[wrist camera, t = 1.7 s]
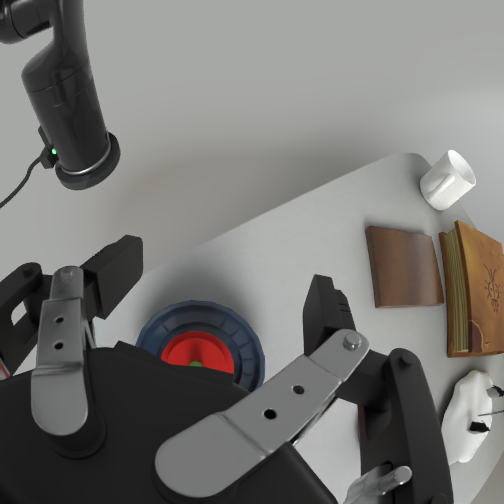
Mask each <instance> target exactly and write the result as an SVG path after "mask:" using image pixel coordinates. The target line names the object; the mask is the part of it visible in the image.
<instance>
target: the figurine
mask: <svg viewBox="0 0 504 504" xmlns="http://www.w3.org/2000/svg"><path fill="white" fill-rule="evenodd" d="M493 386H494V385H493V382H492V380H491V378H490V376H489V374H487V373H486V372H479V371H478V370H473V371H471V372H469V373H468V375H467V376H466V377H464V378H462V379H461V380H460V381H459V382H457V383H456V385H455V390H454V394H453V397H452V399H451V401H450V403H449V405H448V408H447V410H446V412H445V415H444V419H443V423H442V428H441V432H442V436H443V440H444V444H445V449H446V454H447V459H448V464H449V465H451V464H453V463H455V462H457V461H460V462H468V461H469V460H470V459H471V458H472V456H473V454H474V453H475V451H476V450H477V449H478V447H479V446H480V445H481V443H482V441H483V440H484V438H485V437H486V435H487V434H488V431H490V430H489V429H490V426H491V422H492V414H497V413H502V412H504V410H503V411H498V412H493V413H492V399H493V398H497V397H501V396H502V397H503V395H504V391H502V389H501V388H499V387H497V386H494V387H493Z"/></svg>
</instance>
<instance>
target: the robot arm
mask: <svg viewBox="0 0 504 504" xmlns="http://www.w3.org/2000/svg"><path fill="white" fill-rule="evenodd" d="M51 27H53V40H52V41H51V42H50V43H49V44H48V45H47V46H46V47H45V48H44V49H43V50H41V51H40V52H39V53H37V54H36V55H35V56H34V57H33V58H32V59H31V60H30V61H29V62H28V63H27V64H26V66H25V67H24V69H23V71H22V75H21V77H22V81H23V84H24V87H25V89H26V92H27V94H28V97H29V99H30V102H31V104H32V106H33V109H34V111H35V113H36V116H37V118H38V120H39V123H40V127H39V129H38V132H39V134H40V136H41V138H42V140H43V142H44V144H45V148H44V150H43V151H42V153H41V155H40V157H38V158H37V159H36V160H35V161H34V162H33V163H32V164H31V165H30V167H29V169H28V171H27V174H26V177H25V178H24V180H23V181H22V182H21V183H20V185H19V186H18V187H17V188H16V189H15V191H13V192H12V193H11V194H10V195H9V196H8V197H7V198H6V199H5V200H4V201H3V202H1V203H0V208H1V207H3V206H4V205H5V204H6V203H7V202H9V201H10V200H11V199H12V198H13V197H14V196H15V195H16V194H17V193H18V191H19V190H20V189H21V188H22V187H23V186H24V184H25V183H26V182H27V180H28V178H29V176H30V173H31V171H32V169H33V167H34V166H35V165H36V164H37V163H39V162H41V163H42V165H43V167H44V168H45V169H47V168H53V167H54V165H56V166H57V168H58V170H63V172H64V173H65V174H66V175H68V176H72V177H79V176H84V175H87V174H89V173H91V172H93V171H94V170H96V169H97V168H99V167H100V166H101V165H102V164H103V163H104V162H105V161H106V159H107V158H108V156H109V154H110V152H111V142H110V139H109V137H108V130H107V131H106V127H105V124H104V120H103V116H102V112H101V109H100V105H99V101H98V97H97V92H96V88H95V84H94V79H93V75H92V70H91V66H90V60H89V55H88V50H87V42H86V32H85V24H84V11H83V0H0V42H2V43H4V44H14V43H17V42H20V41H23V40H24V39H27V38H29V37H31V36H33V35H35V34H37V33H40V32H42V31H44V30H46V29H49V28H51ZM142 273H143V242H142V239H141V238H140V237H135V236H130V235H125V236H124V237H122V238H121V239H120V240H118V241H117V242H116V243H113V244H110V245H107V246H106V247H104V248H103V249H102V250H100V252H98V253H97V254H95V256H92V257H91V258H90V259H89V260H87V261H86V262H85V263H84V264H82V265H81V266H80V267H77V266H66V267H62V268H60V269H58V270H57V271H56V272H55V273H54V275H43V274H42V270H41V266H40V264H38V263H33V262H31V263H26V264H23V265H21V266H20V267H18V268H17V269H16V270H15V271H13V272H12V273H11V274H10V275H8V276H7V277H6V278H5V279H3V280H2V281H1V282H0V504H338V502H337V500H336V498H335V497H334V495H333V494H332V493H331V492H330V491H329V490H328V488H327V487H326V486H325V485H324V484H323V482H322V481H321V480H320V479H319V478H318V476H317V475H316V474H315V473H314V472H313V470H312V469H311V468H310V467H309V465H308V464H307V463H306V462H305V460H304V459H303V458H302V457H301V455H300V454H299V453H298V451H297V450H296V449H295V446H296V445H297V444H298V443H299V442H300V441H301V439H302V438H303V437H304V436H305V435H306V434H307V433H308V432H309V431H310V429H311V428H312V427H313V426H314V425H315V424H316V423H317V422H318V421H319V420H320V418H321V417H322V416H323V415H324V414H325V413H326V412H327V411H328V410H329V408H330V407H331V406H332V405H333V404H334V403H335V401H336V400H337V399H338V398H340V399H343V400H346V401H349V402H352V403H354V404H357V407H358V419H359V434H360V456H361V477H360V478H358V479H357V480H355V481H354V482H353V483H352V484H351V485H350V487H349V489H348V492H347V497H346V499H345V501H344V503H343V504H453V503H454V498H453V490H452V483H451V476H450V470H449V464H448V459H447V454H446V449H445V444H444V440H443V436H442V432H441V428H440V424H439V420H438V416H437V412H436V409H435V405H434V402H433V399H432V395H431V392H430V389H429V386H428V383H427V380H426V377H425V374H424V371H423V368H422V365H421V362H420V360H419V359H418V357H417V356H416V355H415V354H414V353H412V352H411V351H409V350H406V349H403V348H396V349H394V350H392V351H391V353H390V354H389V356H386V355H383V354H380V353H378V352H375V351H372V350H371V349H369V348H370V346H369V342H368V341H367V339H366V338H365V337H364V336H363V335H362V334H360V333H359V332H357V331H356V328H355V324H354V321H353V317H352V314H351V313H350V312H351V311H350V307H349V304H348V300H347V297H346V296H345V295H344V294H343V293H342V292H341V290H337V289H334V285H333V281H332V278H331V277H327V276H322V275H317V274H315V275H314V277H313V279H312V282H311V286H310V289H309V292H308V295H307V298H306V301H305V304H304V308H303V337H304V354H302V355H300V356H299V357H298V358H296V359H295V360H294V361H293V362H291V363H290V364H289V365H288V366H286V367H285V368H284V369H283V370H281V371H280V372H279V373H277V374H276V375H275V376H274V377H272V378H271V379H270V380H268V381H267V382H266V383H264V384H263V385H261V386H260V387H259V388H257V389H256V390H255V391H253V392H252V393H251V392H249V391H248V390H246V389H245V388H243V387H241V386H240V385H237V384H235V383H233V381H234V376H235V374H233V373H229V372H224V371H220V370H215V369H211V368H207V367H200V366H184V365H173V364H169V363H167V362H165V361H163V360H162V359H160V358H158V357H156V356H155V355H153V354H151V353H150V352H148V351H146V350H145V349H142V348H139V347H136V346H133V345H130V344H127V343H125V342H122V341H118V342H117V344H116V345H115V347H114V348H109V347H100V348H97V346H96V339H95V330H94V323H93V318H94V317H95V316H96V317H99V318H101V319H104V320H105V319H106V318H107V317H108V316H109V314H110V313H111V312H112V311H113V310H114V308H115V307H116V306H117V305H118V304H119V303H120V301H121V300H122V299H123V298H124V297H125V296H126V294H127V293H128V292H129V291H130V290H131V289H132V288H133V286H134V285H135V284H136V283H137V282H138V281H139V280H140V278H141V276H142ZM22 301H23V302H24V306H25V308H26V311H27V312H26V314H25V315H24V316H23V317H22V318H21V319H20V320H19V321H18V322H17V323H16V324H15V325H13V323H12V320H11V315H12V312H13V310H14V309H15V308H16V307H17V306H18V305H19V304H20V303H21V302H22ZM36 344H37V356H36V368H35V369H32V370H29V371H27V372H24V373H21V374H18V375H15V376H13V374H14V373H15V372H16V370H17V369H18V367H19V366H20V365H21V363H22V362H23V361H24V360H25V358H26V357H27V356H28V354H29V353H30V352H31V350H32V349H33V348H34V347H35V345H36Z"/></svg>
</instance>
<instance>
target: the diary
mask: <svg viewBox="0 0 504 504" xmlns="http://www.w3.org/2000/svg"><path fill="white" fill-rule="evenodd" d="M455 227H456V228H454V229H453V230H452V231H450V232H449V233H447V234H446V233H444V232H440V233H439V237H440V243H441V250H442V256H443V264H444V272H445V281H446V293H447V309H448V357H470V356H487V355H496V354H501V353H504V254H503V250H502V245H501V243H499V242H497V241H496V240H494V239H492V238H490V237H489V236H487V235H485V234H483V233H482V232H480V231H478V230H476V229H474V228H472V227H470V226H469V225H467V224H465V223H463V222H461V221H459V220H457V221H456V222H455Z"/></svg>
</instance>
